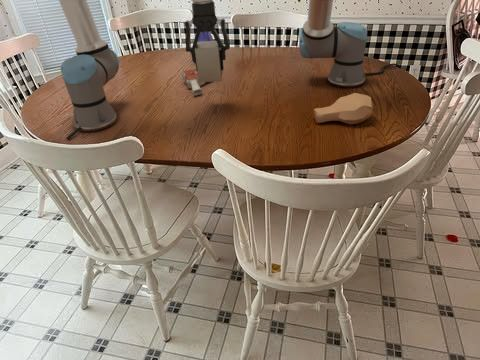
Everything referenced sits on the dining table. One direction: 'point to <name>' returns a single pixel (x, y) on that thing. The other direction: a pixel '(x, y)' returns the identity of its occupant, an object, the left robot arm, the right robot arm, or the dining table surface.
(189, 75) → the tape dispenser
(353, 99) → the squash
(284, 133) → the dining table surface
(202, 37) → the toy
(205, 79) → the block
